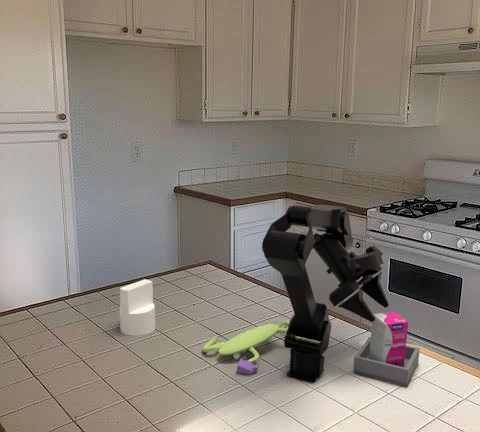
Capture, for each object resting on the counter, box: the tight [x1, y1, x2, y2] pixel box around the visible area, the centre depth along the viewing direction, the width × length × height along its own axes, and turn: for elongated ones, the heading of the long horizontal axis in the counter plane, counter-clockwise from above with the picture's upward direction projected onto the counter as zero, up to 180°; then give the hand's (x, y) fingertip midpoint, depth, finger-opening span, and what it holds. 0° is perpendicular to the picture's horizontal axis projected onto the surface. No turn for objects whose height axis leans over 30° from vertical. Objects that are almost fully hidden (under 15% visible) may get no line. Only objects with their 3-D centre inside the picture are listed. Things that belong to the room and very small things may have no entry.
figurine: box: [201, 319, 320, 375], centre depth 128 cm, size 18×27×6 cm
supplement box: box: [369, 311, 409, 367], centre depth 120 cm, size 6×6×12 cm
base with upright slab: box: [119, 278, 156, 337], centre depth 140 cm, size 9×9×12 cm
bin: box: [352, 336, 421, 388], centre depth 121 cm, size 12×12×4 cm
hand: (380, 313), depth 120 cm, fingers open, 9 cm apart
